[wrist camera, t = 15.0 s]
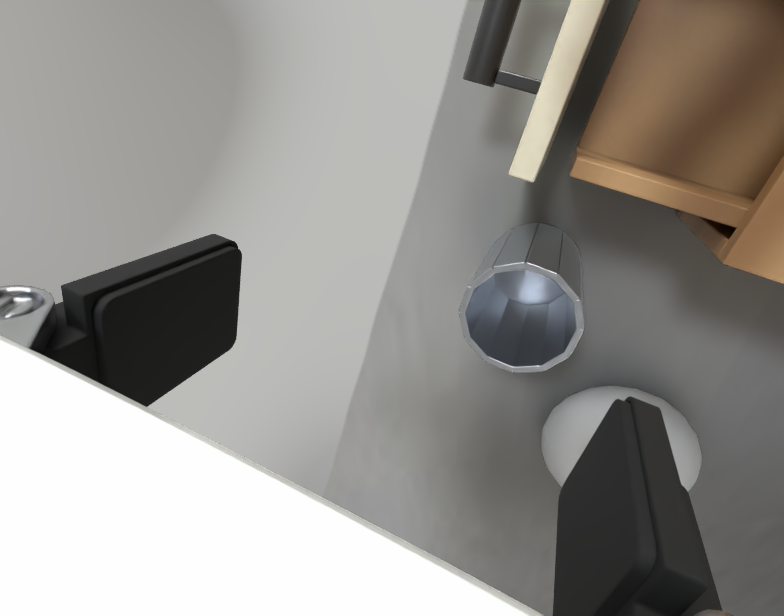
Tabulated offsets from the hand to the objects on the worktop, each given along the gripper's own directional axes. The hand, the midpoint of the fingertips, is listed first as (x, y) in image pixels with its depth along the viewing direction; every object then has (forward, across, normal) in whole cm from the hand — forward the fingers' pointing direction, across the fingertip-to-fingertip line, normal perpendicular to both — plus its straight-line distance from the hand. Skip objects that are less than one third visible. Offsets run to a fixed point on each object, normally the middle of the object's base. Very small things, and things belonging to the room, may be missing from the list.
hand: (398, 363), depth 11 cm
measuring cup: (+21, -3, +4) cm, 22 cm away
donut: (+22, -13, +14) cm, 29 cm away
